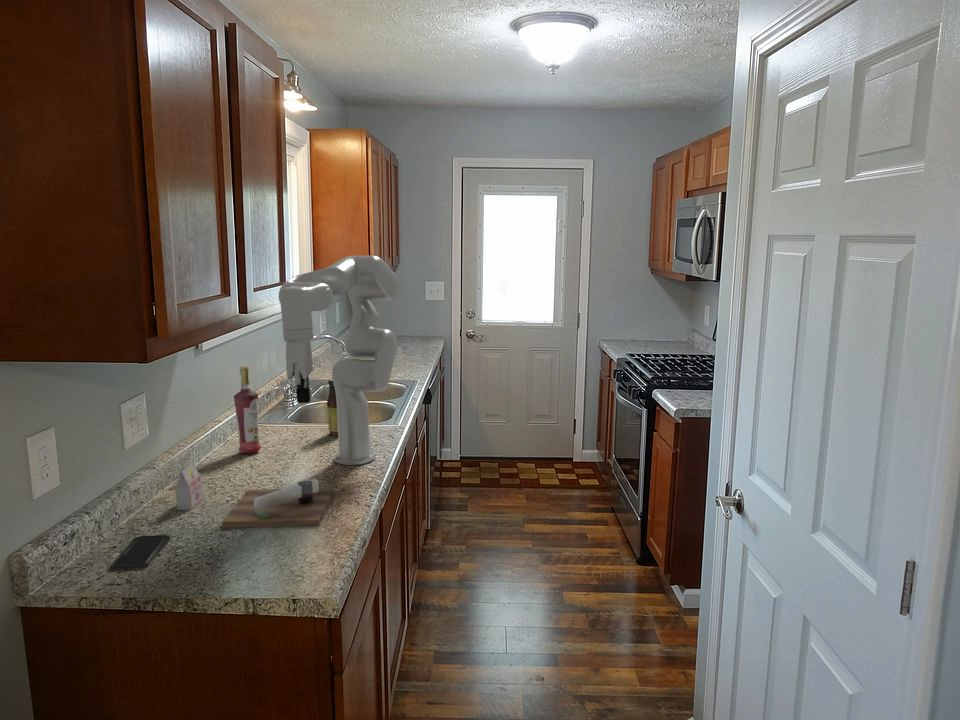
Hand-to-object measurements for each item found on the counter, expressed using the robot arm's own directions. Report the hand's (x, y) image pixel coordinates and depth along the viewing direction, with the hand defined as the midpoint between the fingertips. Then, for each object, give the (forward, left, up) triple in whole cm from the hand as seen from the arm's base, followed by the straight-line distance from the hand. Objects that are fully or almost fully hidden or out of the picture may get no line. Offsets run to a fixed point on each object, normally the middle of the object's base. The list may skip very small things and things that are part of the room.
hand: (303, 401), depth 181 cm
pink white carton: (+7, -29, -25) cm, 39 cm away
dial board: (+12, -4, -25) cm, 28 cm away
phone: (+35, -29, -26) cm, 52 cm away
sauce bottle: (-55, -1, -25) cm, 61 cm away
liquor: (-36, -26, -25) cm, 51 cm away
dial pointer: (+15, -2, -23) cm, 28 cm away
